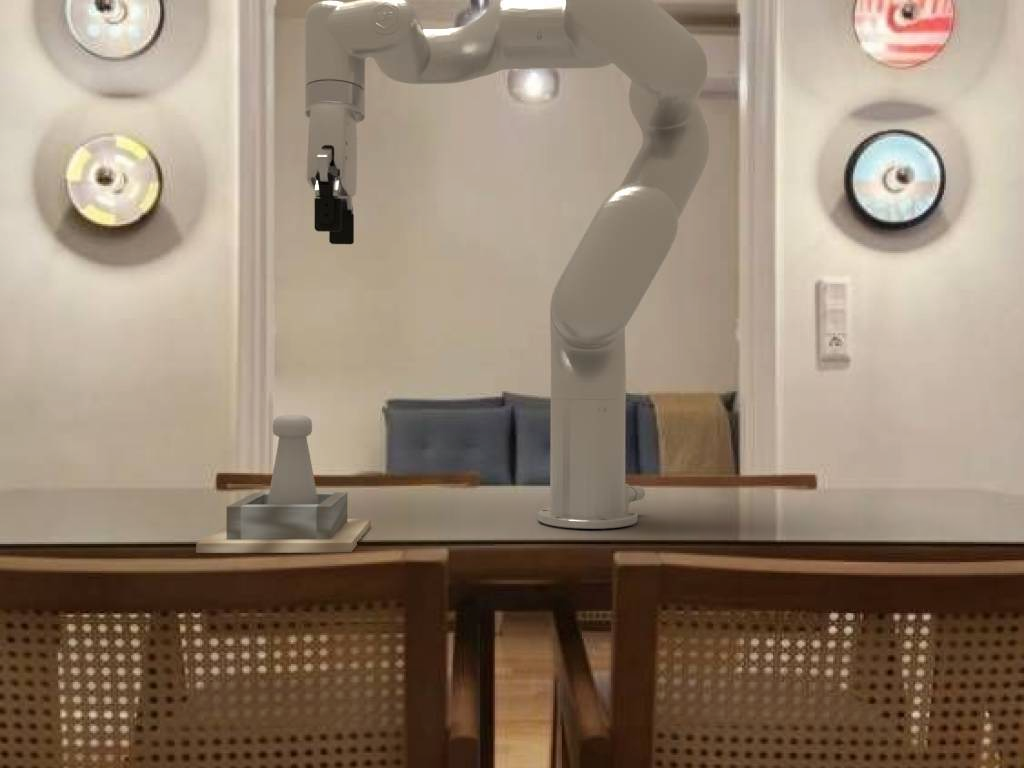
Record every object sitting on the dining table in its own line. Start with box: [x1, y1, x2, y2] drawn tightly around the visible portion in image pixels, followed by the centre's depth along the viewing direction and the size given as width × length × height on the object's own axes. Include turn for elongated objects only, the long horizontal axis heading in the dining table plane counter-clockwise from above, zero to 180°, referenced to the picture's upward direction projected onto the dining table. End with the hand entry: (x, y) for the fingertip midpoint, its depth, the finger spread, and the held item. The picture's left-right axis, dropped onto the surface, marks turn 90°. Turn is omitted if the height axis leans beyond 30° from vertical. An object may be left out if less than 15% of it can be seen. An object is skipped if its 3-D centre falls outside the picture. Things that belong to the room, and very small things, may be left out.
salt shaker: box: [267, 414, 319, 505], centre depth 95 cm, size 6×6×13 cm
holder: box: [195, 491, 372, 554], centre depth 95 cm, size 16×15×4 cm
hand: (335, 237), depth 108 cm, fingers open, 9 cm apart
